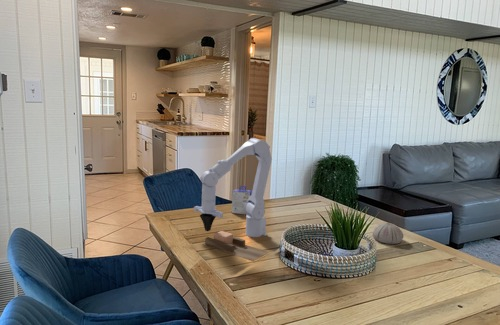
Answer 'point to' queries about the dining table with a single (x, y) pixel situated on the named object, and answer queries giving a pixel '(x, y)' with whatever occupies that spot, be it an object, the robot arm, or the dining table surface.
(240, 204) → the ink cartridge box
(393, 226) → the sea urchin shell
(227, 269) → the dining table surface
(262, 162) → the robot arm
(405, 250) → the dining table surface
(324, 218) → the dining table surface
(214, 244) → the taupe railed channel
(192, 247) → the dining table surface
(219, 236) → the terracotta block
